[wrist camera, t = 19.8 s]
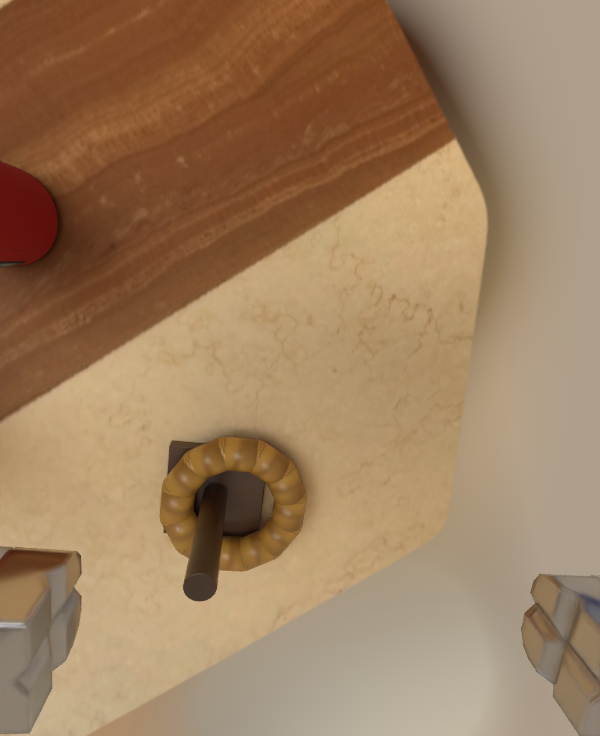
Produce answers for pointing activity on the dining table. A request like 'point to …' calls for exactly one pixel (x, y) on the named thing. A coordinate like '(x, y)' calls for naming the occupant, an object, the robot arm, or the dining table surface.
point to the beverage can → (24, 218)
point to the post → (217, 520)
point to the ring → (241, 458)
